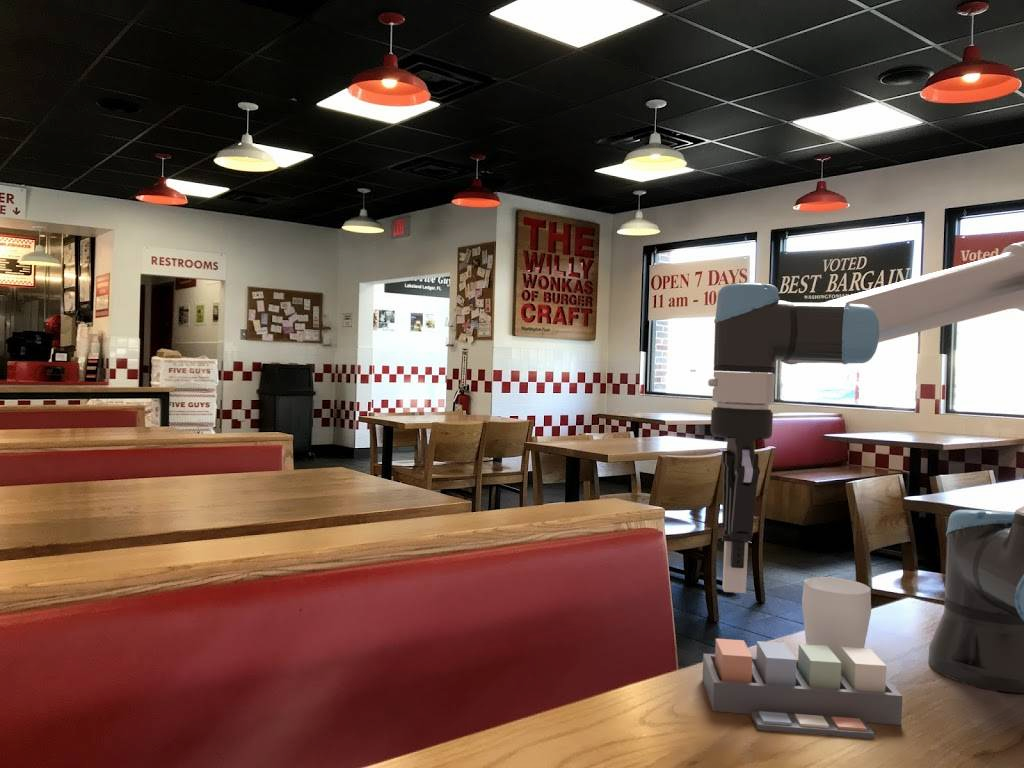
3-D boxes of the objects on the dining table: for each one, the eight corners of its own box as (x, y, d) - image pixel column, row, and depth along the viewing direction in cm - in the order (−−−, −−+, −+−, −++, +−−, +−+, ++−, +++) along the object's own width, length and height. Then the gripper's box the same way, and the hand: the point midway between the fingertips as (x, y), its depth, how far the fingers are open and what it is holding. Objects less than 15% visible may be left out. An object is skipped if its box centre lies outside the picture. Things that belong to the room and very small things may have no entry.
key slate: (784, 669, 104) (785, 643, 104) (795, 687, 98) (796, 659, 98) (756, 667, 105) (757, 641, 105) (765, 685, 99) (766, 657, 99)
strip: (863, 724, 95) (864, 717, 95) (874, 738, 91) (874, 730, 91) (751, 716, 96) (752, 708, 96) (757, 729, 93) (757, 722, 93)
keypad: (872, 691, 105) (873, 664, 105) (901, 725, 95) (902, 696, 95) (702, 679, 107) (703, 653, 107) (712, 711, 98) (714, 682, 97)
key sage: (826, 672, 104) (827, 645, 104) (840, 691, 98) (841, 662, 98) (797, 670, 104) (798, 643, 104) (809, 688, 98) (810, 660, 98)
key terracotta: (742, 666, 105) (743, 640, 105) (751, 684, 99) (752, 656, 99) (714, 664, 105) (715, 638, 105) (721, 682, 99) (722, 654, 99)
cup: (875, 685, 107) (879, 596, 107) (804, 678, 109) (808, 591, 109) (860, 661, 116) (863, 579, 116) (795, 655, 118) (798, 574, 117)
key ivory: (868, 675, 103) (869, 648, 103) (885, 694, 97) (886, 665, 97) (839, 673, 104) (840, 646, 103) (854, 692, 98) (855, 663, 97)
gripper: (705, 403, 108) (697, 575, 109) (719, 407, 95) (711, 603, 96) (762, 405, 107) (754, 579, 108) (784, 410, 94) (775, 608, 95)
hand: (734, 590), depth 102 cm, fingers closed
